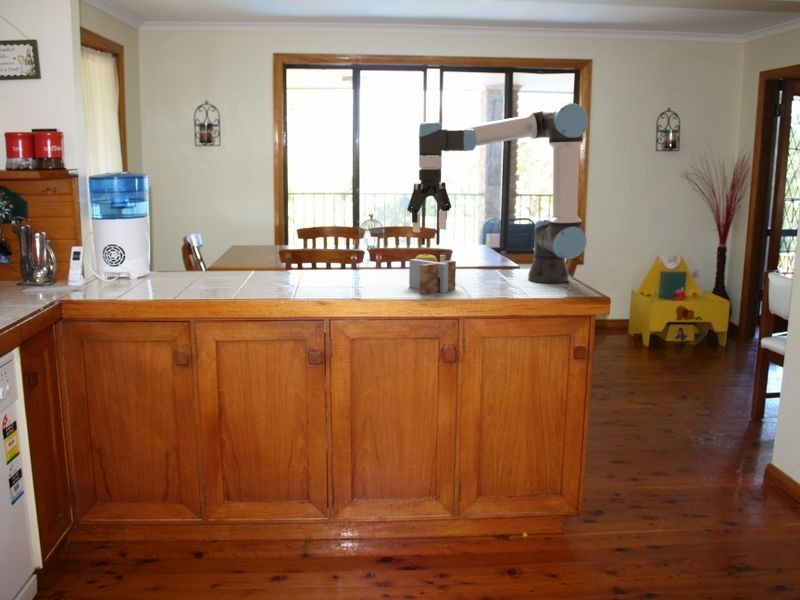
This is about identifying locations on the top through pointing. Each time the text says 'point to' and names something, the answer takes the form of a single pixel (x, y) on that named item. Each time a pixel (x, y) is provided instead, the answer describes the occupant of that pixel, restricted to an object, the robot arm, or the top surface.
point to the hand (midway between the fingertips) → (429, 230)
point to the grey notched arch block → (415, 274)
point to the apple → (427, 257)
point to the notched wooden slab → (435, 277)
